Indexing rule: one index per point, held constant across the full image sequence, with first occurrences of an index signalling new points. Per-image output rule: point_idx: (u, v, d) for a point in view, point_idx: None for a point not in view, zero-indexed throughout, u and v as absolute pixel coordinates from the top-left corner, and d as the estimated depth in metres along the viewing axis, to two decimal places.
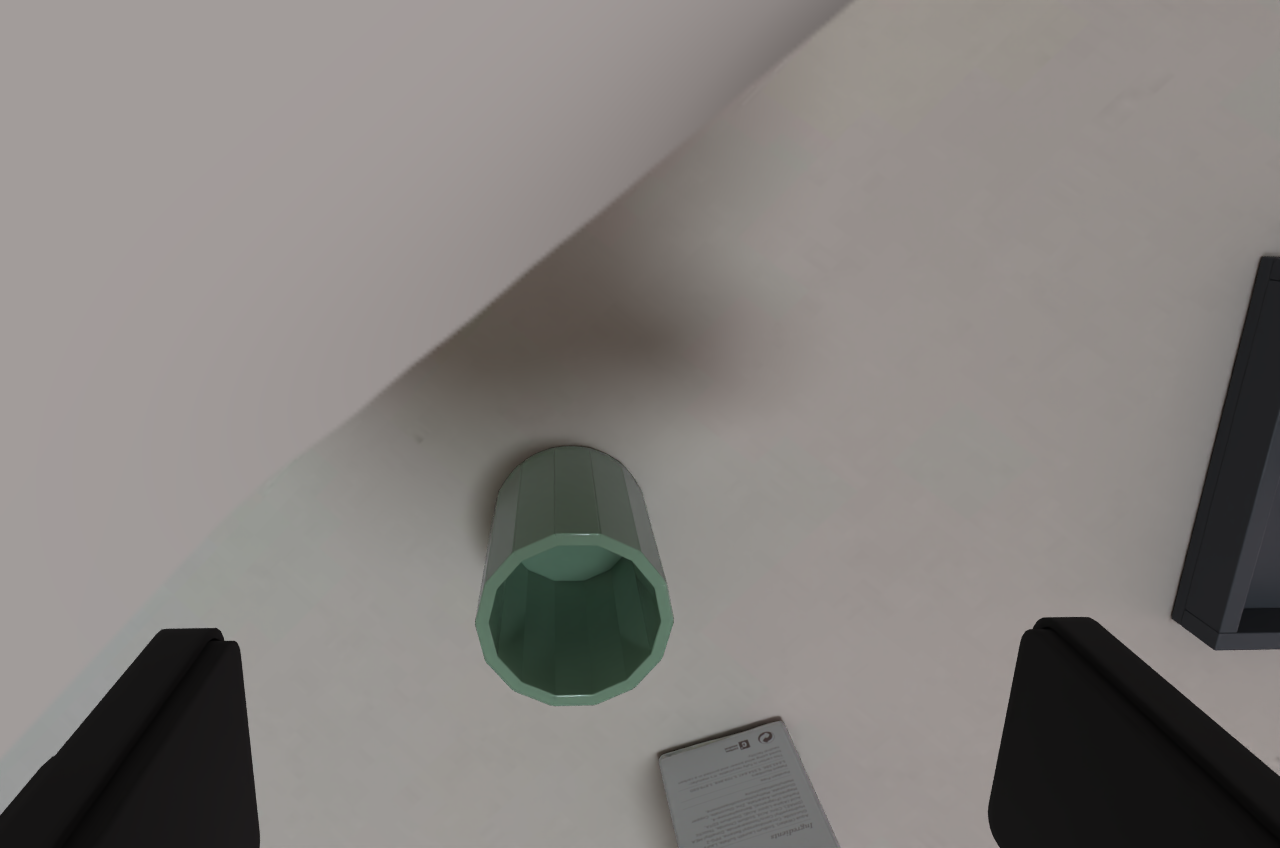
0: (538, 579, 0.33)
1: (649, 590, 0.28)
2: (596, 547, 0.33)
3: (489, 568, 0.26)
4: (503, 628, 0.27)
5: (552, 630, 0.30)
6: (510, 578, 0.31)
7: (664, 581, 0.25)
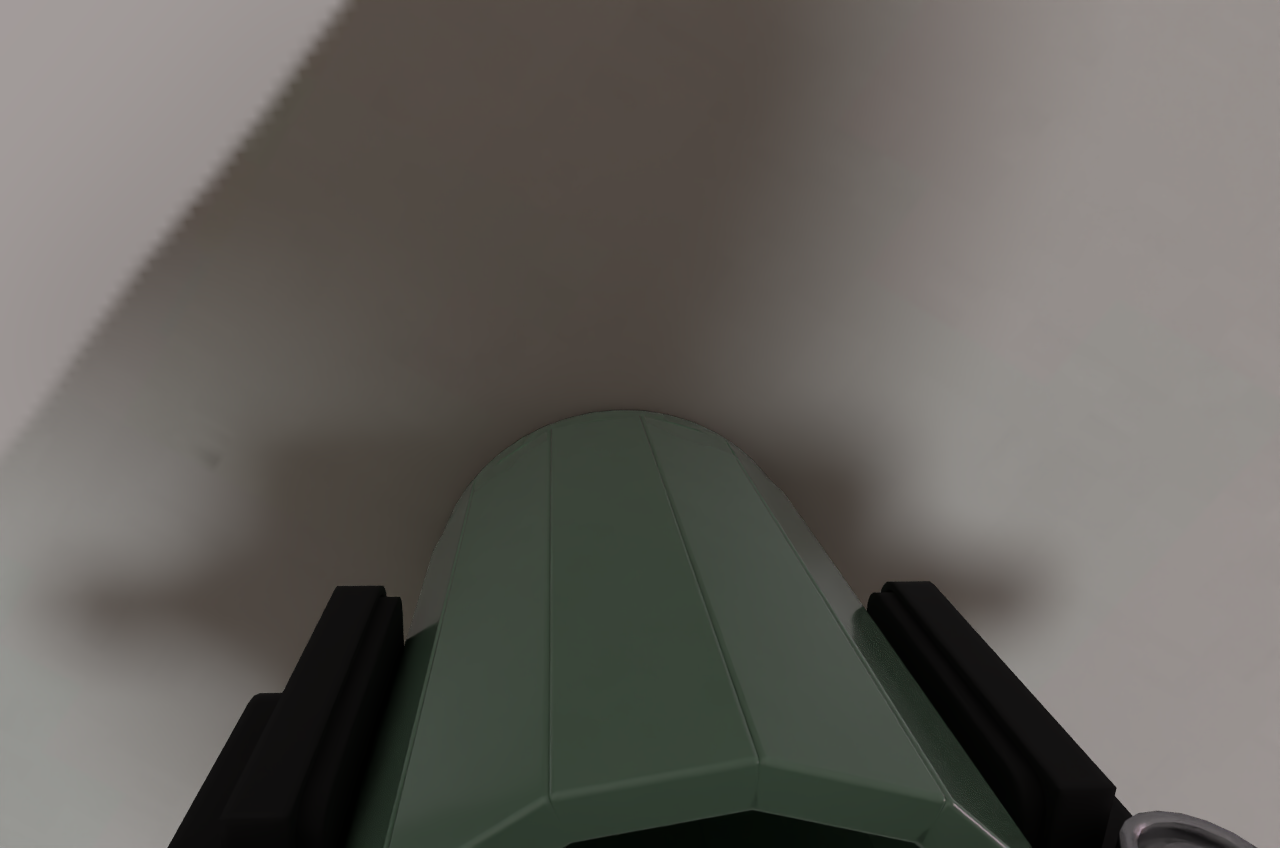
0: None
1: None
2: None
3: None
4: None
5: None
6: None
7: None
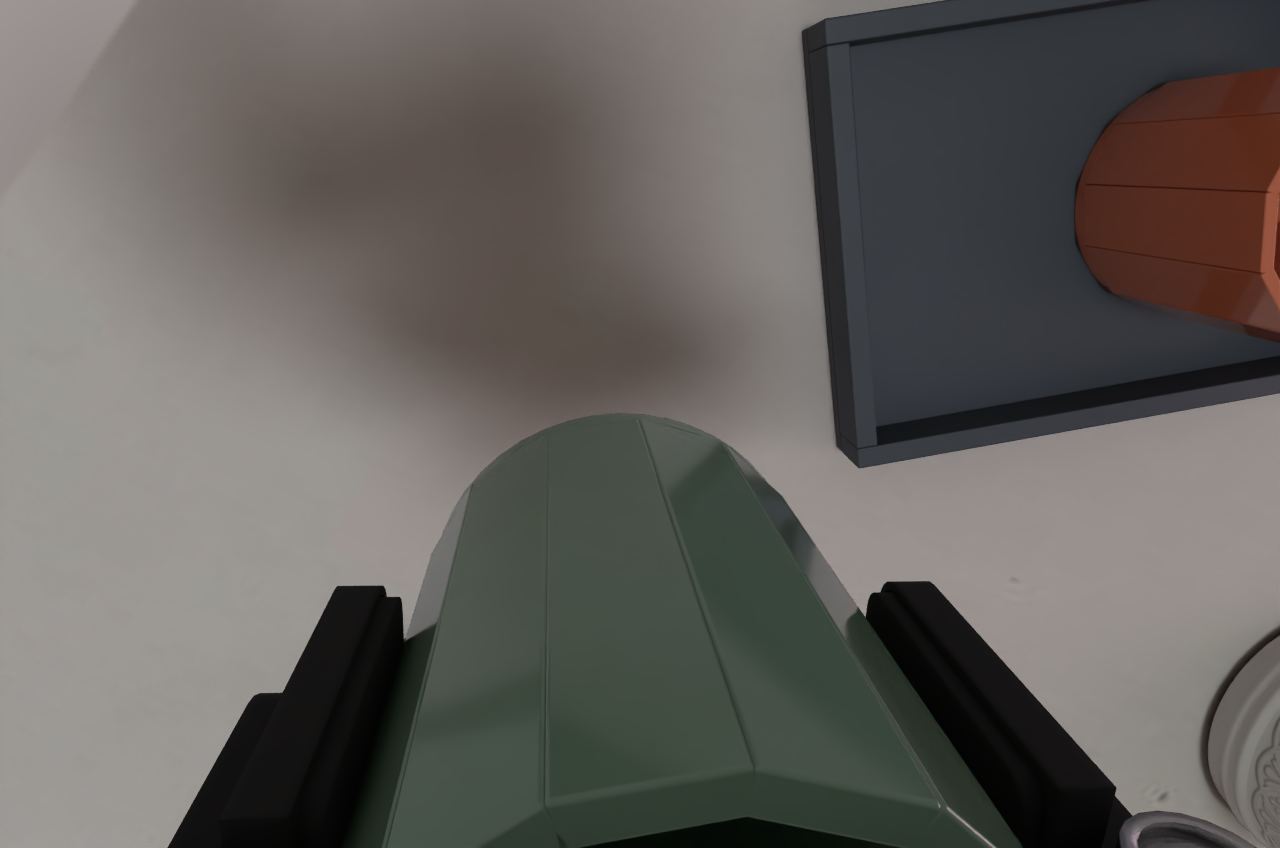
0: None
1: None
2: None
3: None
4: None
5: None
6: None
7: None
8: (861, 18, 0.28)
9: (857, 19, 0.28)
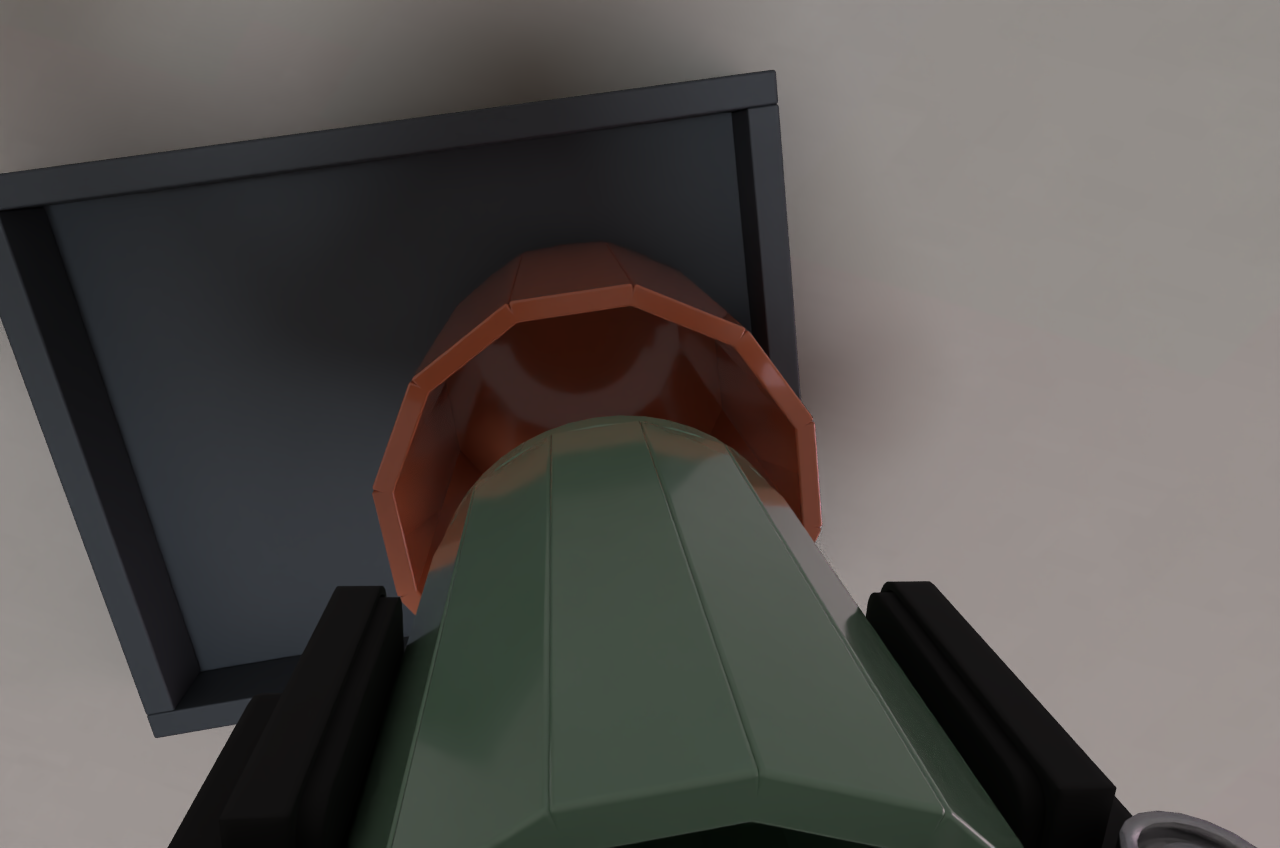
0: None
1: None
2: None
3: None
4: None
5: None
6: None
7: None
8: (6, 180, 0.20)
9: (1, 181, 0.20)
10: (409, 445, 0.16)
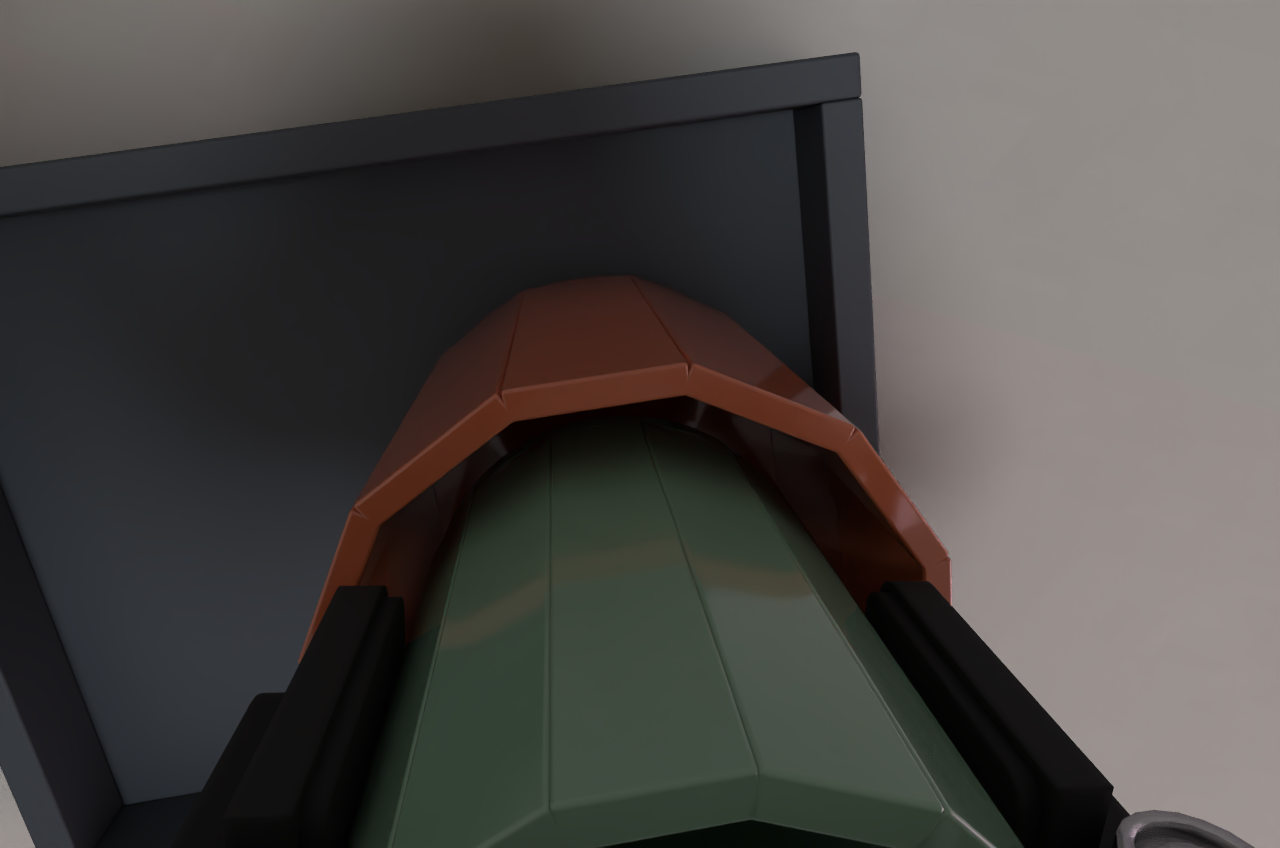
0: None
1: None
2: None
3: None
4: None
5: None
6: None
7: None
8: None
9: None
10: None
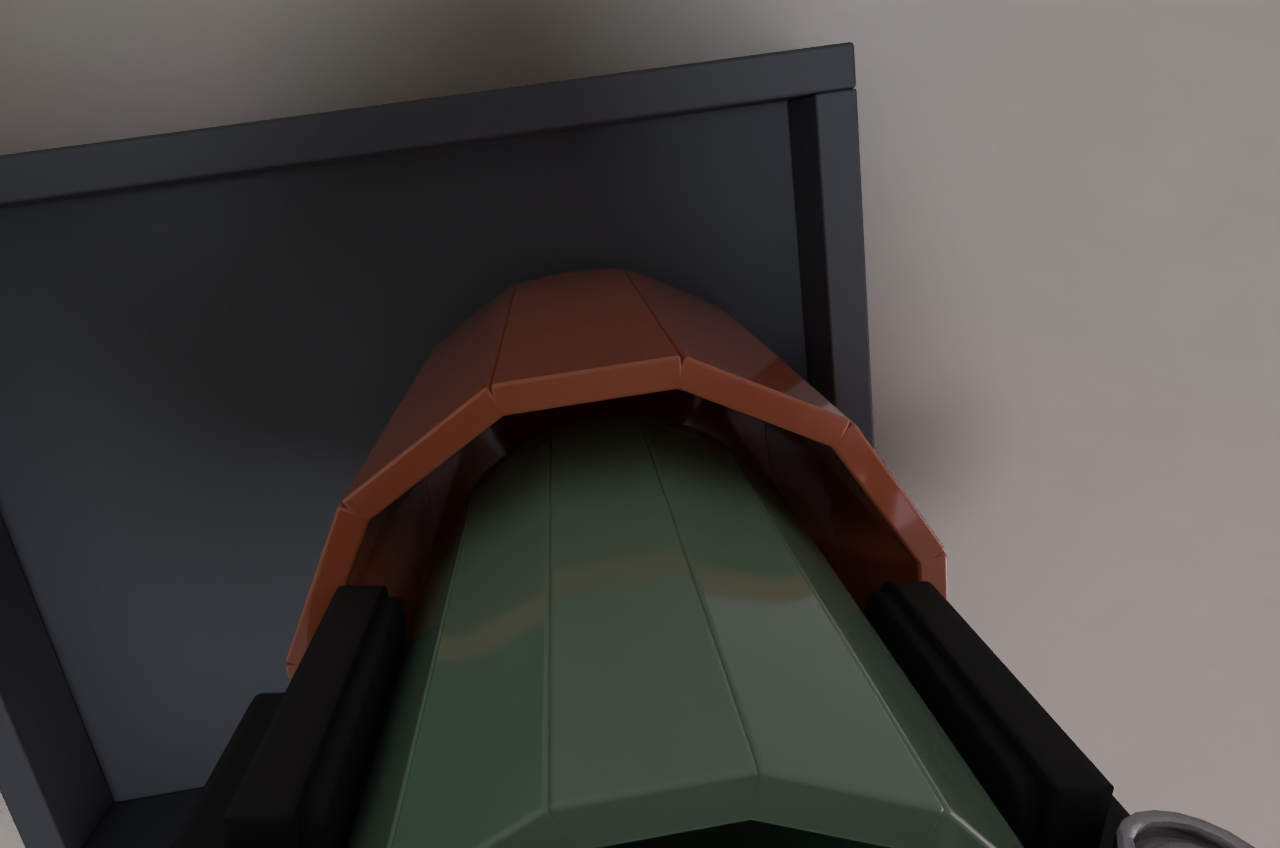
0: None
1: None
2: None
3: None
4: None
5: None
6: None
7: None
8: None
9: None
10: None
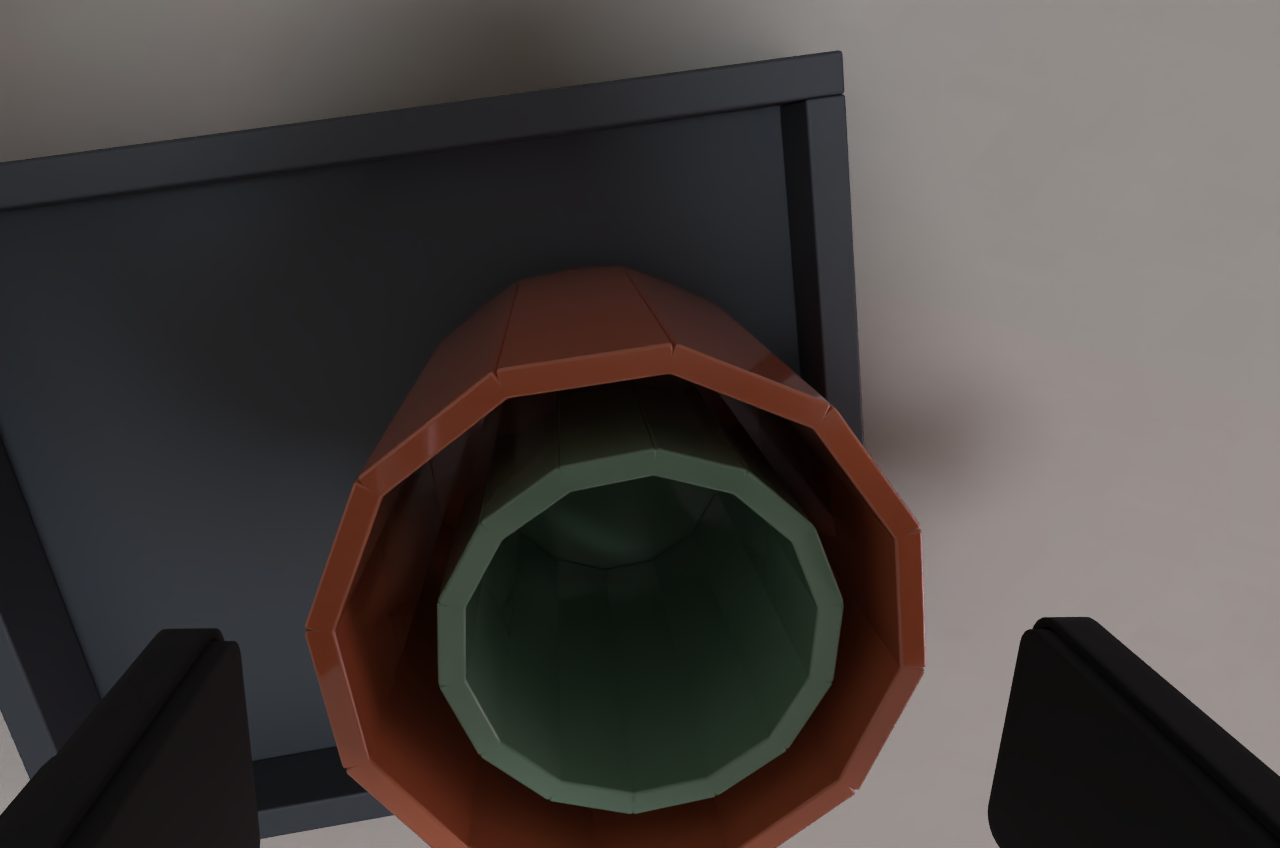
0: (577, 571, 0.20)
1: (773, 551, 0.15)
2: (662, 501, 0.20)
3: (447, 568, 0.12)
4: (512, 677, 0.14)
5: (611, 656, 0.16)
6: (523, 580, 0.18)
7: (810, 524, 0.12)
8: None
9: None
10: (356, 568, 0.11)
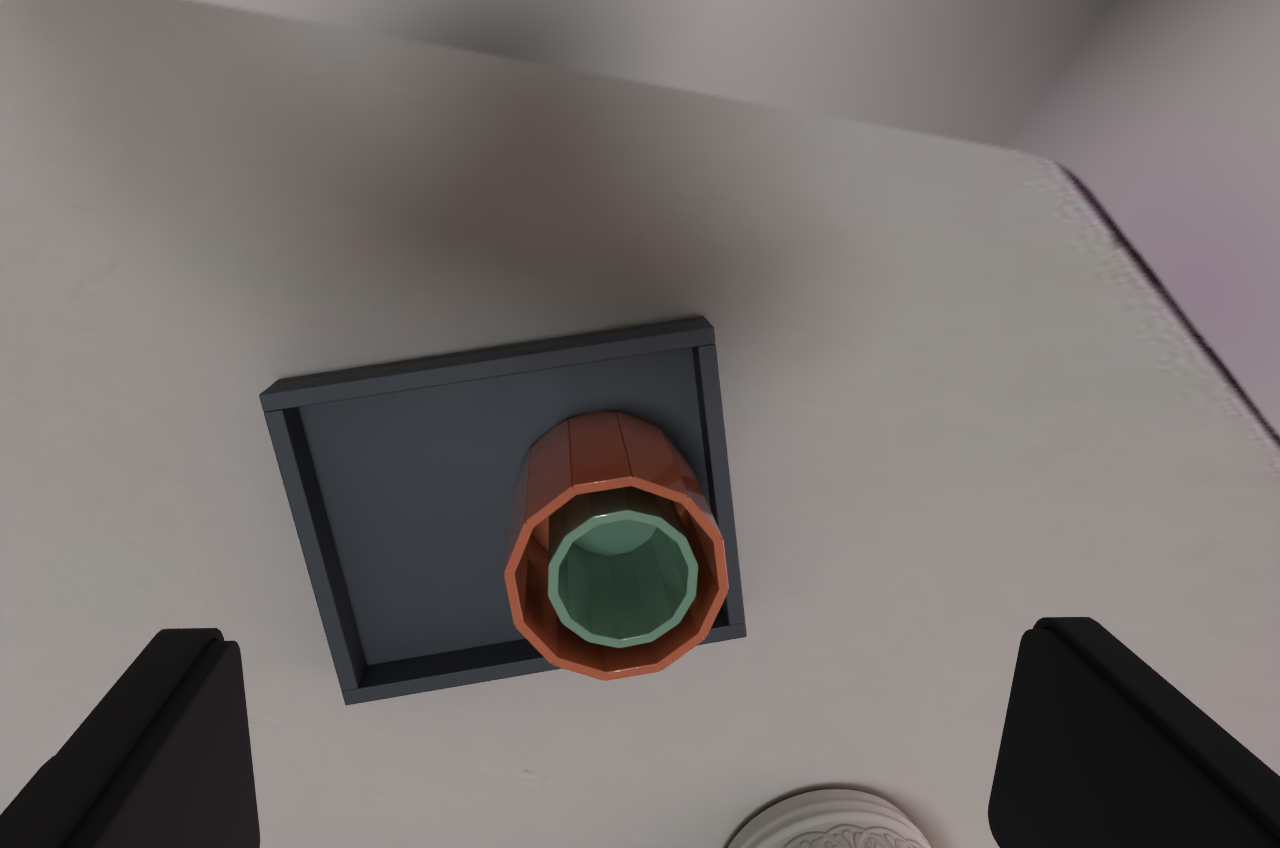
0: (594, 557, 0.40)
1: (678, 547, 0.36)
2: (636, 523, 0.41)
3: (550, 552, 0.33)
4: (571, 597, 0.35)
5: (611, 593, 0.37)
6: (571, 560, 0.38)
7: (684, 536, 0.33)
8: (288, 393, 0.36)
9: (285, 394, 0.36)
10: (523, 552, 0.32)
